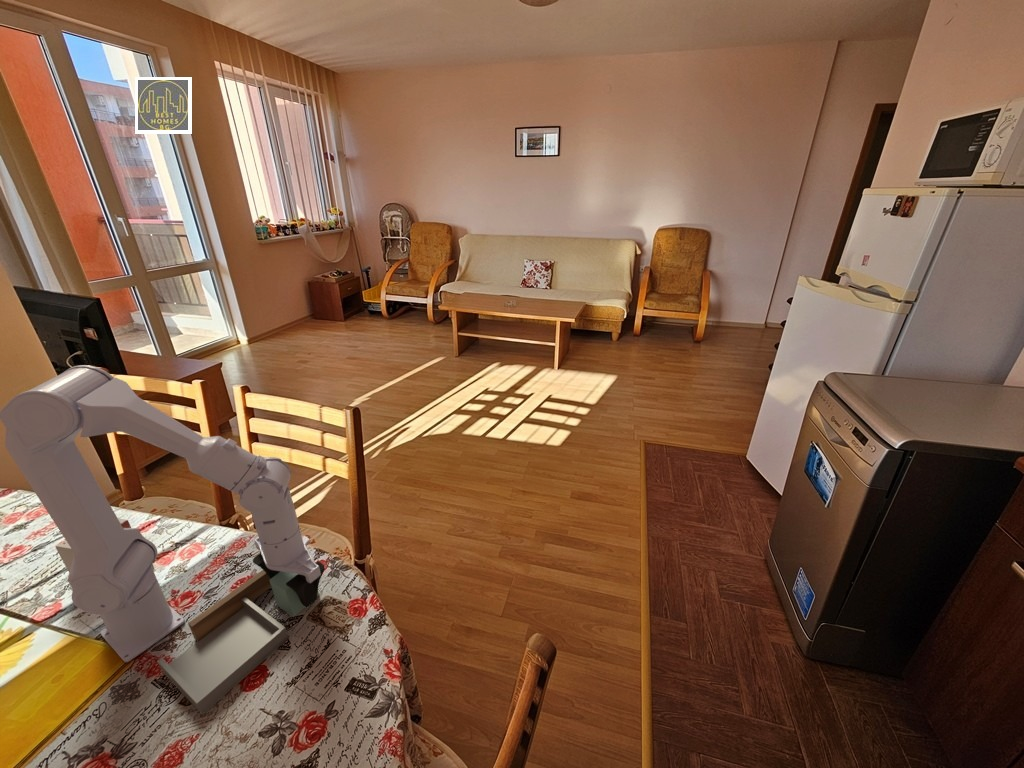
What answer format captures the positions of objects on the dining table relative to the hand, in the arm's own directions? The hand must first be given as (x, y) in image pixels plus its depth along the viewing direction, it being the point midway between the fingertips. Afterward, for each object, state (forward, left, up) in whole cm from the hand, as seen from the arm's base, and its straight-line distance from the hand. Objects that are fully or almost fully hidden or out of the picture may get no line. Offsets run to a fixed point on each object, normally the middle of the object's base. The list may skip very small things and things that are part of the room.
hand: (296, 592), depth 72 cm
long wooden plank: (-7, -5, -1) cm, 9 cm away
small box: (-34, -14, -2) cm, 37 cm away
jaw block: (0, 0, -2) cm, 2 cm away
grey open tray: (-1, -12, -2) cm, 12 cm away
